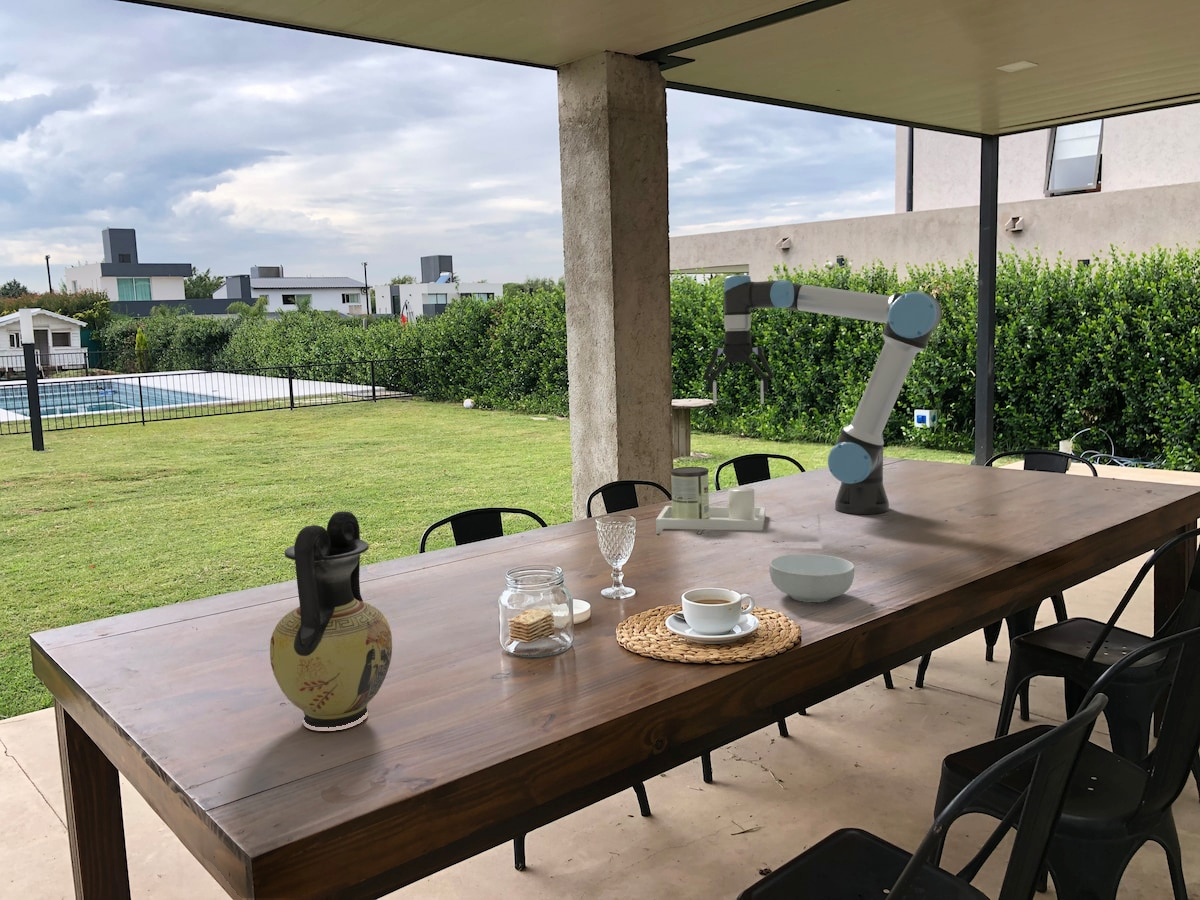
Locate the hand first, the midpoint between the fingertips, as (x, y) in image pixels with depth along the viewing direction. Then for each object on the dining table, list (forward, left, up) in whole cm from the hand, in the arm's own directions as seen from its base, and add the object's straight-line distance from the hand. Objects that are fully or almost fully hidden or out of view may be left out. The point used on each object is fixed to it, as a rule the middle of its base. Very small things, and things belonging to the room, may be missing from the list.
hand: (738, 404), depth 268 cm
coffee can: (+12, +22, -30) cm, 39 cm away
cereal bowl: (-20, +84, -32) cm, 92 cm away
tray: (+6, +22, -32) cm, 39 cm away
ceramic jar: (-2, +22, -30) cm, 37 cm away
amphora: (+48, +153, -32) cm, 163 cm away
